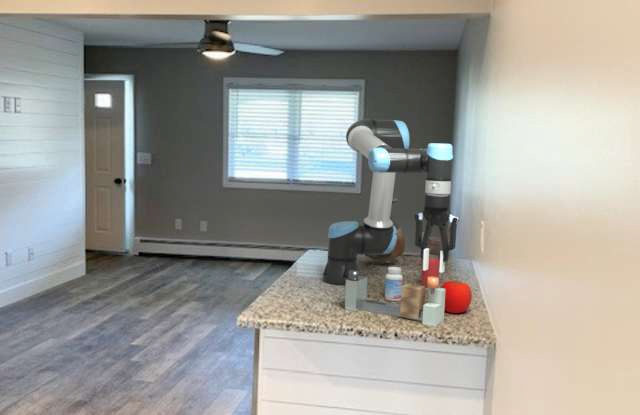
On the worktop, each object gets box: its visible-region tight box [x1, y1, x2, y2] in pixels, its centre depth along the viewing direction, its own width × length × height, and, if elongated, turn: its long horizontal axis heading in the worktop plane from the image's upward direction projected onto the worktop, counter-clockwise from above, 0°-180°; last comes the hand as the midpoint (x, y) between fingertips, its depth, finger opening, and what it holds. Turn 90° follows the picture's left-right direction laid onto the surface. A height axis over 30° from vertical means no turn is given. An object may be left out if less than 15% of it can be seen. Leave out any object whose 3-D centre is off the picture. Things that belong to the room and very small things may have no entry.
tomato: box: [440, 280, 473, 314], centre depth 199 cm, size 10×11×11 cm
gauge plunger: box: [426, 276, 440, 294], centre depth 184 cm, size 3×3×5 cm
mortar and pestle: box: [427, 224, 451, 269], centre depth 270 cm, size 12×9×20 cm
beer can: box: [420, 254, 440, 288], centre depth 234 cm, size 7×7×12 cm
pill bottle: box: [384, 266, 404, 302], centre depth 213 cm, size 6×6×11 cm
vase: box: [363, 198, 406, 265], centre depth 272 cm, size 23×19×30 cm
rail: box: [344, 269, 423, 322], centre depth 195 cm, size 27×8×13 cm, turn 60°
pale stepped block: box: [421, 287, 445, 327], centre depth 187 cm, size 4×9×10 cm, turn 150°
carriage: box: [400, 283, 426, 319], centre depth 191 cm, size 6×5×10 cm
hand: (433, 270), depth 184 cm, fingers open, 4 cm apart
